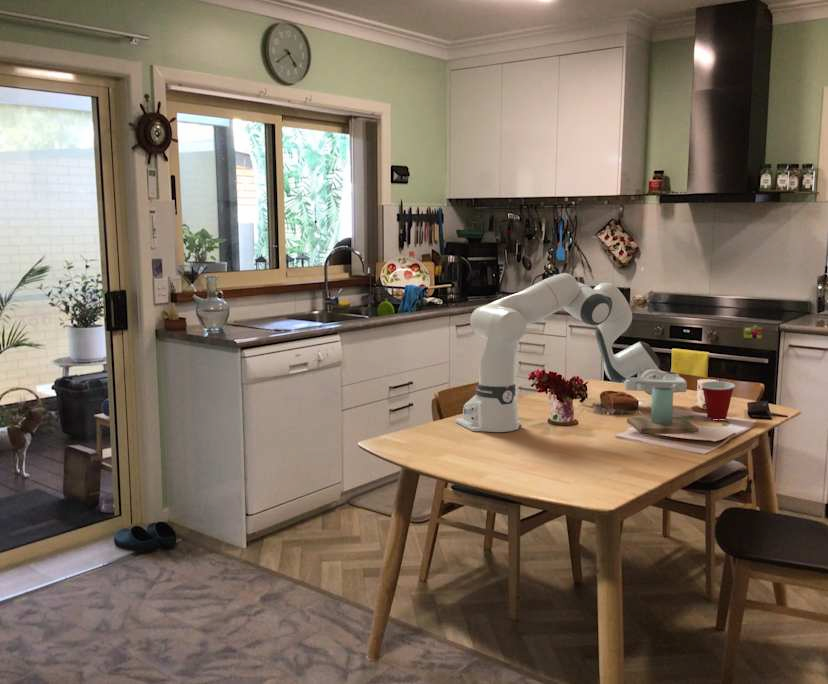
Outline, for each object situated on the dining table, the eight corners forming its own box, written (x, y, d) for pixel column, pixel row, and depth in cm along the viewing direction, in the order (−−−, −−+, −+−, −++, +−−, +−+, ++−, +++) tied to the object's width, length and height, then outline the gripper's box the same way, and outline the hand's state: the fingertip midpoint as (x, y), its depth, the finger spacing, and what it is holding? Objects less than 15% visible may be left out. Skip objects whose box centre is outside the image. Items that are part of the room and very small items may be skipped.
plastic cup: (693, 418, 270) (694, 383, 269) (709, 414, 278) (710, 379, 276) (723, 424, 262) (725, 387, 261) (739, 419, 269) (741, 383, 268)
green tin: (646, 421, 259) (648, 387, 258) (660, 419, 262) (662, 386, 261) (662, 425, 254) (663, 391, 252) (676, 423, 257) (677, 389, 255)
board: (640, 433, 250) (640, 428, 250) (627, 421, 266) (627, 417, 266) (698, 432, 250) (698, 428, 250) (681, 421, 266) (681, 417, 266)
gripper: (622, 372, 284) (625, 378, 270) (683, 374, 280) (689, 380, 266) (622, 389, 284) (625, 396, 271) (682, 391, 281) (688, 399, 267)
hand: (657, 388), depth 269 cm, fingers open, 8 cm apart
